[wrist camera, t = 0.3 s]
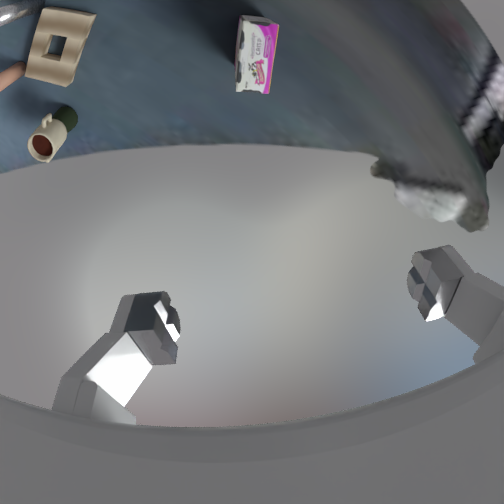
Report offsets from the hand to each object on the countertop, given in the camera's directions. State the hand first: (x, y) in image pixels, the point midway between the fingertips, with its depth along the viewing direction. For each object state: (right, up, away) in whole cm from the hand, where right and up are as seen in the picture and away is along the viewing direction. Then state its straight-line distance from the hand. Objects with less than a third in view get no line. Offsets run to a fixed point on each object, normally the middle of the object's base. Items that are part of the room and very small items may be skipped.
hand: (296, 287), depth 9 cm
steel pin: (-44, +50, +14) cm, 68 cm away
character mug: (-43, +32, +39) cm, 66 cm away
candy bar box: (-2, +40, +32) cm, 51 cm away
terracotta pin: (-52, +41, +25) cm, 71 cm away
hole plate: (-39, +42, +24) cm, 63 cm away
